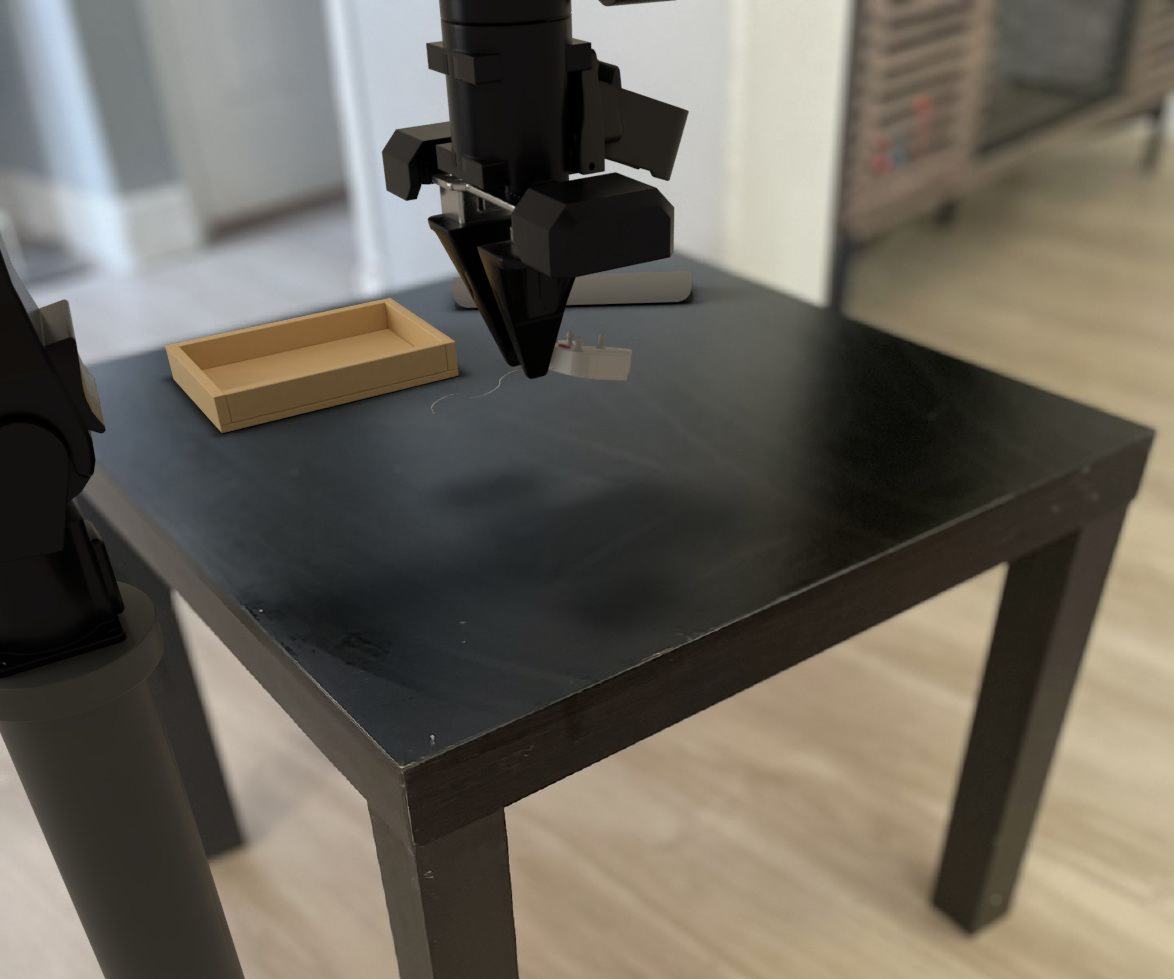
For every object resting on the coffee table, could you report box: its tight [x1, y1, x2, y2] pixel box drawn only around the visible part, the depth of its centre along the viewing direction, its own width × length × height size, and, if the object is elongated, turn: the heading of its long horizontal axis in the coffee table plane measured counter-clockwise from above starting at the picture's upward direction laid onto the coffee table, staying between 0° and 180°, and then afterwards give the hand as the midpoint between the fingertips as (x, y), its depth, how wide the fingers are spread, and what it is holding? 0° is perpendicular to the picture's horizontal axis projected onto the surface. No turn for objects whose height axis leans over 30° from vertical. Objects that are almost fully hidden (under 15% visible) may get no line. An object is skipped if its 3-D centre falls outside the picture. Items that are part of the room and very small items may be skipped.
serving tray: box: [164, 297, 459, 434], centre depth 87 cm, size 18×12×2 cm, turn 121°
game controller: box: [430, 330, 633, 415], centre depth 62 cm, size 6×12×3 cm, turn 141°
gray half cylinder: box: [452, 270, 694, 309], centre depth 99 cm, size 4×20×2 cm, turn 89°
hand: (527, 370), depth 63 cm, fingers closed on game controller, 2 cm apart
